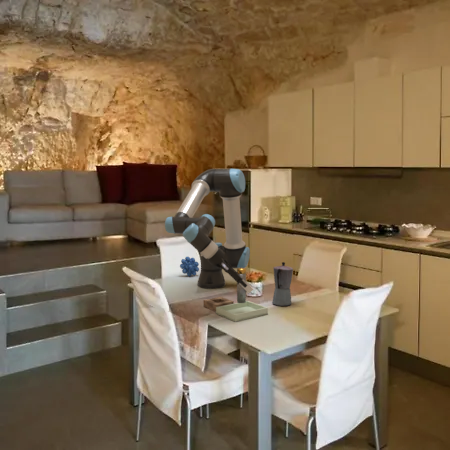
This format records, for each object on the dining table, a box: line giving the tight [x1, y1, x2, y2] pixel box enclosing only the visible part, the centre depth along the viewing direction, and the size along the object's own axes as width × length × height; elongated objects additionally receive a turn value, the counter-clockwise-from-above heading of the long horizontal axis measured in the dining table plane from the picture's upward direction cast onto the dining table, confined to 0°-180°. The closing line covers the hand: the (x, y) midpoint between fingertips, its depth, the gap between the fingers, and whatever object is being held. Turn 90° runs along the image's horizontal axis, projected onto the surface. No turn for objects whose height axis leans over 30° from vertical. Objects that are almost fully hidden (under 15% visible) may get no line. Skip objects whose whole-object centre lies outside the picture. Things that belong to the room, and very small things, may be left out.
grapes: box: [179, 256, 200, 277], centre depth 292 cm, size 12×7×12 cm, turn 109°
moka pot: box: [271, 261, 294, 307], centre depth 234 cm, size 10×15×20 cm, turn 161°
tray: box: [215, 300, 269, 323], centre depth 219 cm, size 18×14×3 cm
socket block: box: [203, 296, 235, 312], centre depth 230 cm, size 10×10×3 cm
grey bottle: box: [236, 267, 247, 303], centre depth 217 cm, size 4×4×15 cm
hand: (250, 289), depth 218 cm, fingers closed on grey bottle, 4 cm apart
